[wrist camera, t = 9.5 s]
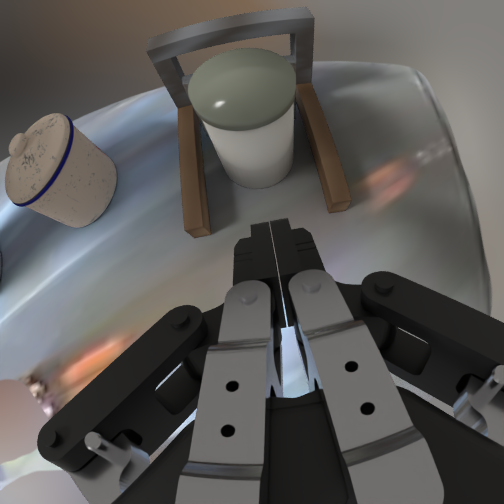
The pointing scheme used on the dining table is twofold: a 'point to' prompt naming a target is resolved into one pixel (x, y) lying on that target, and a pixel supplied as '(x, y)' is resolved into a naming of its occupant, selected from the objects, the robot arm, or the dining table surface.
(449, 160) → the dining table surface
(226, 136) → the jar
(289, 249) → the robot arm
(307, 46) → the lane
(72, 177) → the teacup with lid
